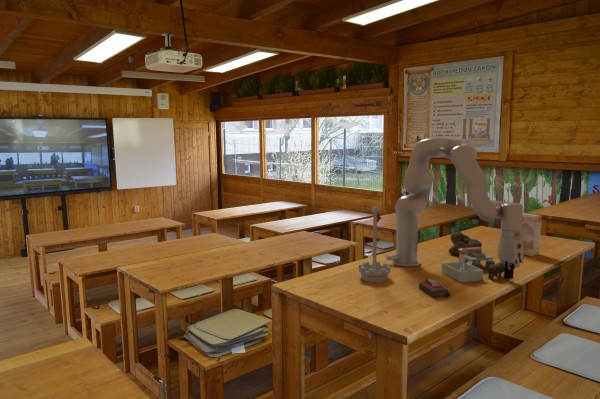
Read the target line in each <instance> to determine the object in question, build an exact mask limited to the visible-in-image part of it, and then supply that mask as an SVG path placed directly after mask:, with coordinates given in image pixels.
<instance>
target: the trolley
mask: <svg viewBox="0 0 600 399" xmlns="http://www.w3.org/2000/svg"><path fill="white" fill-rule="evenodd" d="M465 249H467V252H466V254H465V262H466V263H468V261H469V262H471V265H472V266H475V267H477V268H479V269H481V270H482V263H481V262H483V261H485V268H486V269H487V270H488V267H489V266H490V265H494V264H496V262H495V261H494V257H493V256H491V255H488V254H486V253H485V252H483V249H482V247H481V248H480V247H472V248H465ZM457 262H459V258H458V261H457Z"/></svg>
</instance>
